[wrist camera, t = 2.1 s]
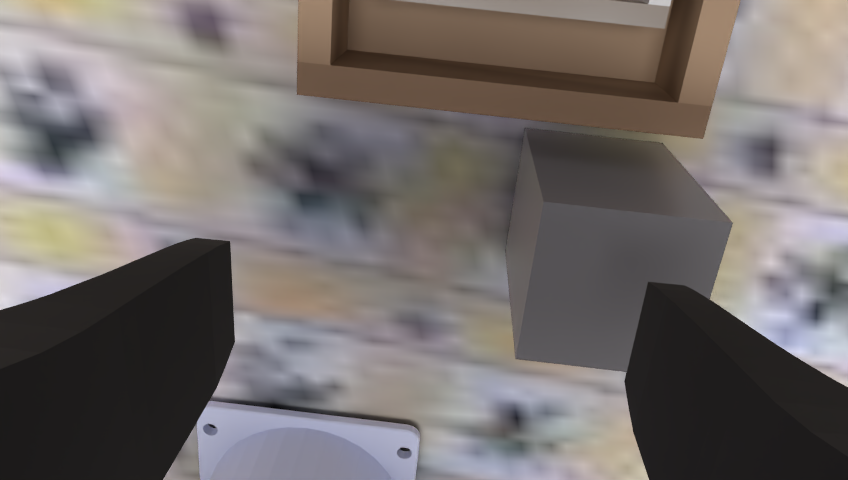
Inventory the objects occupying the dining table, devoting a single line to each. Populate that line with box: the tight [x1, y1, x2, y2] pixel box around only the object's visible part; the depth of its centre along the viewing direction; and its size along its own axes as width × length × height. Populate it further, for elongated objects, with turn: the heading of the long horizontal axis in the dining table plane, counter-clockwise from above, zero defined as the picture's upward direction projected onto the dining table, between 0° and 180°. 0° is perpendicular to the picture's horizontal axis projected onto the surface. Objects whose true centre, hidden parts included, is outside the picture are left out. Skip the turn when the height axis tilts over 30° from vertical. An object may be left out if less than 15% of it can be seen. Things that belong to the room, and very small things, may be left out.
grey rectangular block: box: [505, 128, 733, 372], centre depth 18 cm, size 4×4×6 cm
